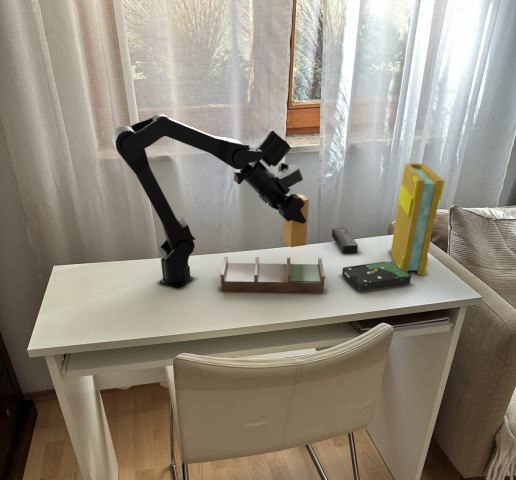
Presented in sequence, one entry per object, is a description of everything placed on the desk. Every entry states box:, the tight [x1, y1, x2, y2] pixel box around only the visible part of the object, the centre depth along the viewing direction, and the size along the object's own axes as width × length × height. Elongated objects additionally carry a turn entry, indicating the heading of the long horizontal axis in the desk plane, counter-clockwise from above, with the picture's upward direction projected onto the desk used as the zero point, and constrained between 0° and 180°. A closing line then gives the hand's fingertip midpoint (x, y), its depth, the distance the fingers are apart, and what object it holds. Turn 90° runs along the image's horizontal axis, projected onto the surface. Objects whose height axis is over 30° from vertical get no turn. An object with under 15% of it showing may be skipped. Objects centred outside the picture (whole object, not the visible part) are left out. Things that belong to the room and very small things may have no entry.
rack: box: [220, 256, 326, 294], centre depth 128 cm, size 26×11×5 cm, turn 88°
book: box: [390, 162, 446, 276], centre depth 134 cm, size 17×7×25 cm, turn 179°
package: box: [282, 193, 310, 248], centre depth 133 cm, size 4×6×13 cm
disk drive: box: [341, 260, 412, 293], centre depth 130 cm, size 10×3×15 cm
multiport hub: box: [331, 227, 359, 254], centre depth 151 cm, size 4×14×2 cm, turn 7°
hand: (300, 218), depth 133 cm, fingers closed on package, 5 cm apart
